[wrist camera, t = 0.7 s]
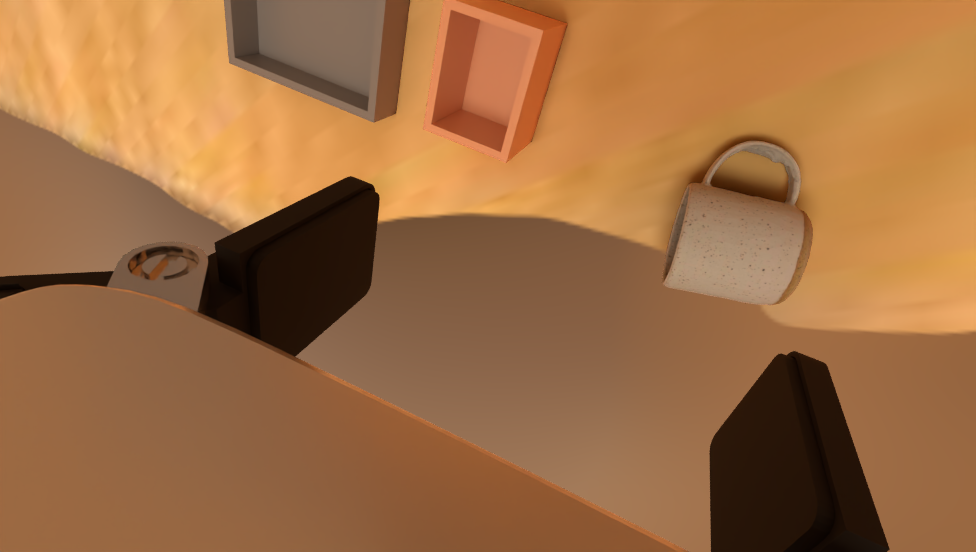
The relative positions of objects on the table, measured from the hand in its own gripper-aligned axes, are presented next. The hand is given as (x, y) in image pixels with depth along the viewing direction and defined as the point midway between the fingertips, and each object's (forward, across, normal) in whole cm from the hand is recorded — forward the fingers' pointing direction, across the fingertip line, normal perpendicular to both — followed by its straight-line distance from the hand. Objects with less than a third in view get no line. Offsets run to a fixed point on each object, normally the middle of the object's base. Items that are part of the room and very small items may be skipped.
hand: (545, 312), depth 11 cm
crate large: (+30, +28, +1) cm, 41 cm away
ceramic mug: (+30, -8, +6) cm, 32 cm away
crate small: (+30, +11, +1) cm, 32 cm away
